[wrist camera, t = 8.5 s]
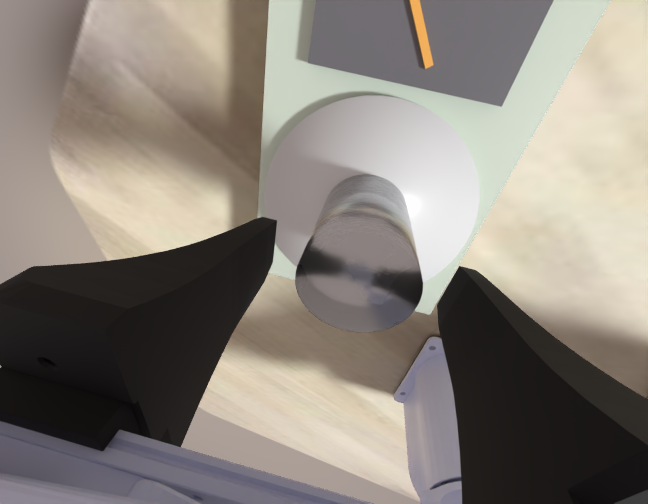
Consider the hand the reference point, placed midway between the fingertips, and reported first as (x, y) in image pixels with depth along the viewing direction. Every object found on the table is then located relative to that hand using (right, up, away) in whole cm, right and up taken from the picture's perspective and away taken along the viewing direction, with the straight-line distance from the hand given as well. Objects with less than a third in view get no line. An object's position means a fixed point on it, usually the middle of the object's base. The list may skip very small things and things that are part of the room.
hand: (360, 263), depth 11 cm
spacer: (+1, +2, +4) cm, 5 cm away
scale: (+2, +6, +5) cm, 8 cm away
